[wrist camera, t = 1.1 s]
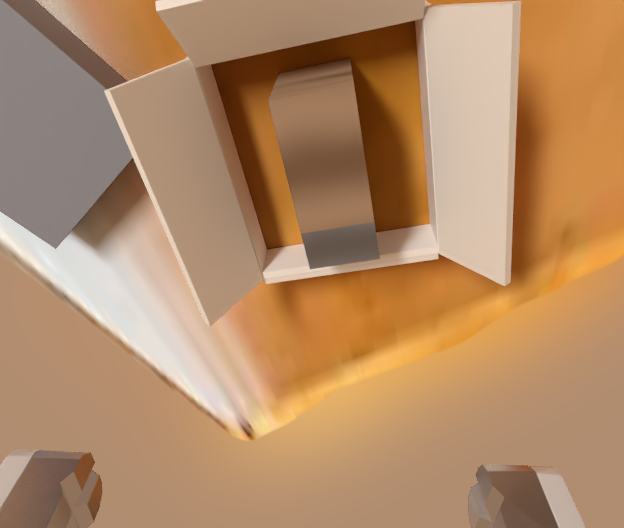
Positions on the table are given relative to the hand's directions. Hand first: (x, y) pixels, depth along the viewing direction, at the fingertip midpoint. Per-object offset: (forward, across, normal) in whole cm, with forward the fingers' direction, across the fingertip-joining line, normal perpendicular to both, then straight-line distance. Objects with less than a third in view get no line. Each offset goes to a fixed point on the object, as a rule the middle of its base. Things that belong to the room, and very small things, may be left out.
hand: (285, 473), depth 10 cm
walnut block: (+29, -2, +3) cm, 29 cm away
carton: (+29, -1, +2) cm, 29 cm away
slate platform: (+29, +20, +1) cm, 36 cm away
